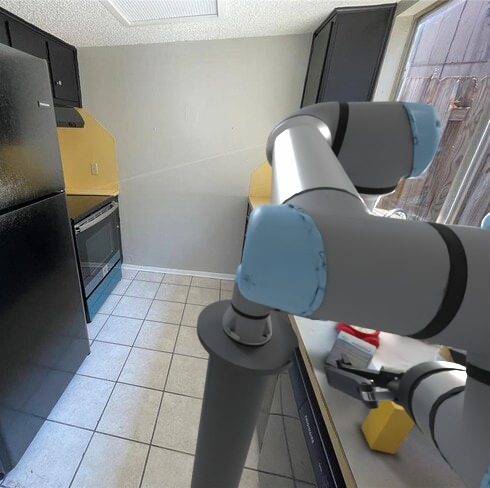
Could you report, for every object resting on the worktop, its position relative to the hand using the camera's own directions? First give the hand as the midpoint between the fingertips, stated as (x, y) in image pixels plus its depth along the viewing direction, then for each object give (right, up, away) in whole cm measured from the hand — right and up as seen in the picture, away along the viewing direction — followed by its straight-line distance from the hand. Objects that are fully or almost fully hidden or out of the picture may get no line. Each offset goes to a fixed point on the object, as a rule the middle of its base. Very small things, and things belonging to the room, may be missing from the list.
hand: (396, 359), depth 40 cm
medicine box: (+11, -14, +27) cm, 32 cm away
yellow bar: (+6, -21, +11) cm, 24 cm away
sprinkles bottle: (+30, -16, +23) cm, 42 cm away
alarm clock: (+21, -10, +37) cm, 44 cm away
